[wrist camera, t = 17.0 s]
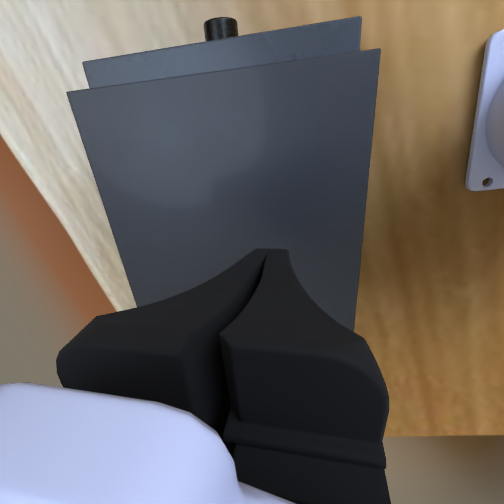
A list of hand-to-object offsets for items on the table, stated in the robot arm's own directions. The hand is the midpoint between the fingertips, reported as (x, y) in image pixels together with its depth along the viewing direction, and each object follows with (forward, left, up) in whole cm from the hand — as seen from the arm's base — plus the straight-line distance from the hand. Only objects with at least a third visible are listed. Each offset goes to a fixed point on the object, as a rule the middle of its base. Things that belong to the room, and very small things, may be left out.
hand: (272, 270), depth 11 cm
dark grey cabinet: (+3, 0, -10) cm, 10 cm away
